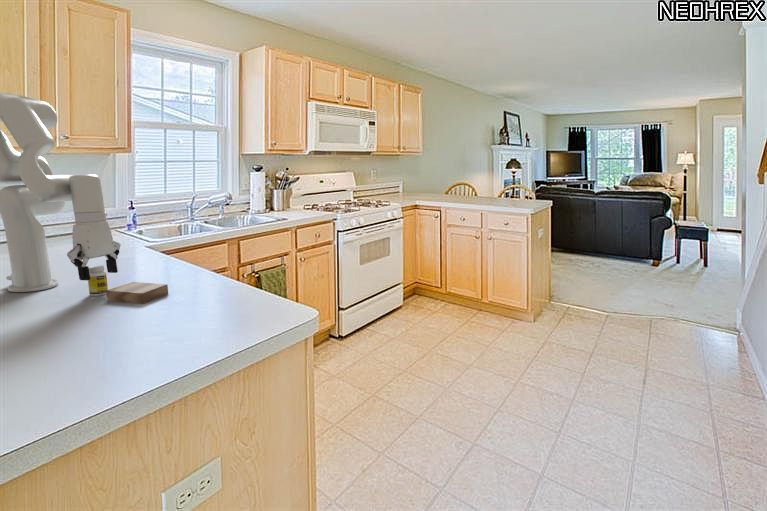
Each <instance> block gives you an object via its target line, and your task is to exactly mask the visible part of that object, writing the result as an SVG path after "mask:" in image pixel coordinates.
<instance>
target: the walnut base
mask: <svg viewBox="0 0 767 511" xmlns="http://www.w3.org/2000/svg"><path fill="white" fill-rule="evenodd" d="M106 293H107V294H106V298H107V299H106V300H107V301H108V302H116V303H117V302H118V303H126V304H127V303H129V304H140V305H142V304H143V305H145V304H146V303H149V302H151V301H155V300H157V299H160V298H162V297H165V296H167V295H169V286H168V284H166V283H154V282H139V281H132V282H129V283H126V284H123V285H120V286H116V287H113V288H108V290H106Z"/></svg>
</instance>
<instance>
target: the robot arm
mask: <svg viewBox="0 0 767 511" xmlns="http://www.w3.org/2000/svg"><path fill="white" fill-rule="evenodd" d="M0 122H2V123H3V124H4V125H5V127H6V128H7V130H8V132H9V133H10V135H11V136H12V138H13V139H14V140H15V142H16V145H18V147H19V149H20V150H21V152H19V151H17V150H15V148H14V147H13V145H12V143H11V141H10V139H9V137H8V136H7V135H6V134H5V132H3V131H2V130H1V129H0V184H4V185H9V186H4V187H3V188H1V189H0V217H1V220H2V222H3V223H2V224H3V229H4V232H5V239H6V245H7V251H8V252H7V253H8V256H9V257H8V258H9V263H10V270H11V271H10V272H11V273H10V275H7V276H6V278H5V279H6V280H7V281H11V284H10V285H8V286H7V290H8V292H11V293H28V292H30V293H31V292H37V291H38V292H39V291H44V290H48V289H52V288H55V287H57V286H58V285H59V280H57V279H52V272H51V265H50V260H49V258H50V257H49V252H48V245H47V238H46V232H45V229H44V227H43V225H42V224H41V223H40V221H39V220H38V219H37V218H36V216H37V217H38V216H46V215H54V214H58V213H59V212H61V211H62V210H63V209H64V207H65V202H70V201H71V203H72V207H73V208H72V209H73V214H74V215H73V216H74V222H75V223H74V224H73V225H72V235H71V236H72V249H70V250H69V251H68V252H66V256H67V258H68V259H69V260H70V263H72V264H73V265H74V266H75V267H76V268H77V271H78V272H77V273H78V279H79V281H88V280H90V274H89V267H90V266H88V263H89V261H90V259H91V260H92V259H95V258H101V257H105V258H106V260H105V263H106V265H105V266H106V270H107V271H106V273H108V274H110V273H111V274H117V273H118V272H119V270H118V264H117V263H118V262H117V260H118V257H119V254H120V249H121V246H122V245H121V243H120V242H118V241H115V240H113V235H112V231H111V230H112V229H111V228H110V224H109V222H108V221H107V216H108V213H107V212H106V210H105V204H104V196H103V189H102V182H101V179H100V177H99V176H98V175H97V174H54V172H53V170H52V168H51V167H50V165H49V163H48V162H47V160H46V159H45V158H44V157H43V156H45V155H47V154H49V153H50V152H51V151H52V150H53V149H54V148H55V145H56V142H55V140H54V138H53V136H52V135H51V133H50V132H49V130H52V129H54V128H55V127H56V126H57V124H58V116H57V112H56V111H55V109H54V107H53V106H52V105H50V104H49V103H48V102H46V101H44V100H39V99H36V98H32V97H27V96H25V95H20V94H14V93H7V92H2V91H1V92H0Z"/></svg>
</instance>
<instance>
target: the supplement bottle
mask: <svg viewBox="0 0 767 511" xmlns="http://www.w3.org/2000/svg"><path fill="white" fill-rule="evenodd" d="M88 267H89V274H90V280H87V283H88V284H87V285H88V292H89V296H91V297H100V296H104V295H107V293H106V290H109V287H108V278H107V272H106V271H105V265H103V264H101V265H100V264H99V265H91V266H88Z"/></svg>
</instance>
